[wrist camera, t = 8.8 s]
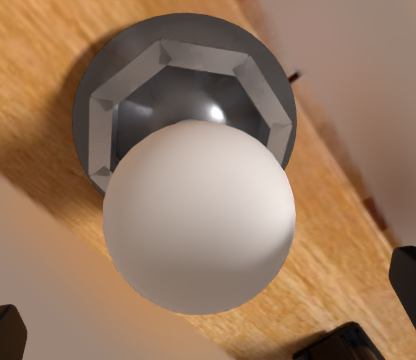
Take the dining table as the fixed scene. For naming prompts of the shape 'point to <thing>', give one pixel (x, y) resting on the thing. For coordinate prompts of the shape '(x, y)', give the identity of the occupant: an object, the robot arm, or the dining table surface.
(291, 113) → the socket base
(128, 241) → the lightbulb
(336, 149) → the dining table surface
